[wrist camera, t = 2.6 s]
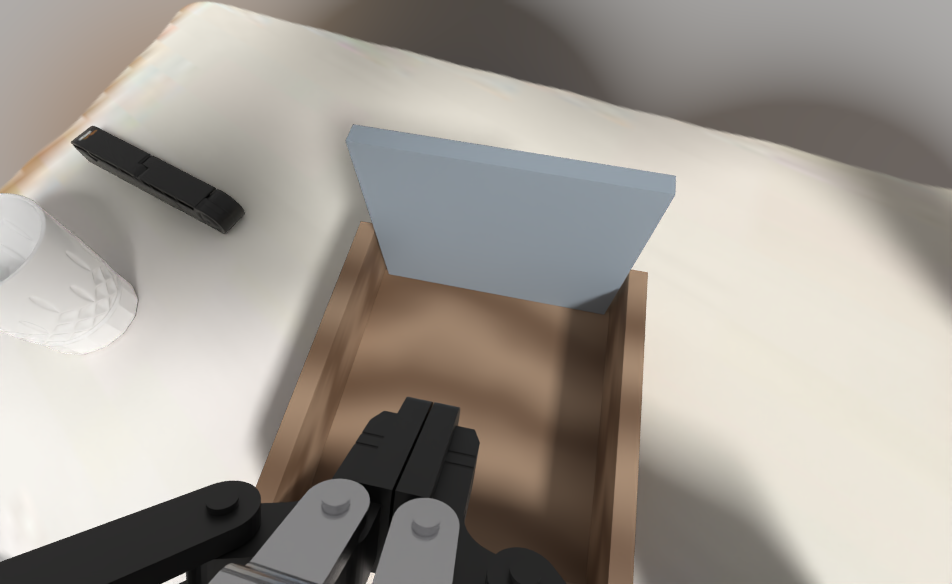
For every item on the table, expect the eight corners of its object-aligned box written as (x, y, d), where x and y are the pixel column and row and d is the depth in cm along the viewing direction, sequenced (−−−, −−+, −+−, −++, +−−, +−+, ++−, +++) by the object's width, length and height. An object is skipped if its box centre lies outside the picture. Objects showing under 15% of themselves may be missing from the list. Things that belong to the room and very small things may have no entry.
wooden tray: (598, 611, 28) (630, 631, 22) (283, 533, 30) (237, 533, 24) (620, 313, 37) (647, 272, 31) (377, 267, 39) (360, 221, 33)
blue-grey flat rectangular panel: (604, 314, 35) (675, 194, 23) (388, 274, 37) (345, 140, 24) (606, 291, 36) (675, 163, 24) (396, 252, 38) (357, 113, 25)
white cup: (70, 384, 34) (-71, 331, 25) (20, 319, 37) (-125, 250, 28) (166, 310, 37) (69, 239, 28) (114, 254, 39) (9, 172, 30)
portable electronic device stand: (250, 218, 41) (235, 196, 39) (230, 239, 40) (213, 218, 38) (109, 144, 45) (86, 120, 43) (87, 162, 44) (62, 138, 42)
